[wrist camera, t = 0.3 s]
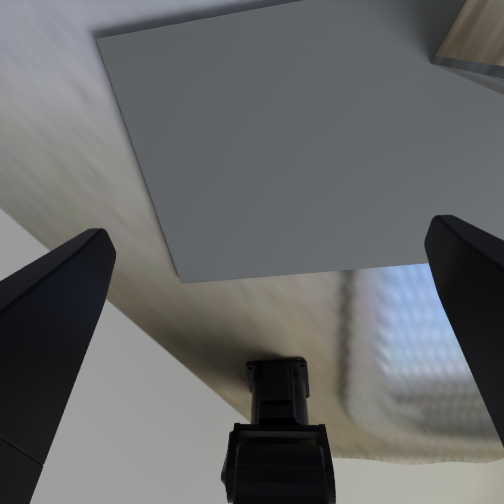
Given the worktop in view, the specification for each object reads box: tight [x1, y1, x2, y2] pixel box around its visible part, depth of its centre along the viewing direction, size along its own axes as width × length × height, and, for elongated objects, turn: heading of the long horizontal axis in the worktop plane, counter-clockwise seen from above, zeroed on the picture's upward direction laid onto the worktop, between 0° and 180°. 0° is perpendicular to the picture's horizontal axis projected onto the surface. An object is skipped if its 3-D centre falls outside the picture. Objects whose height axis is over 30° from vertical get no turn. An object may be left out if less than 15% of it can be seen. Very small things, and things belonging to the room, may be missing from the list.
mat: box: [96, 0, 504, 284], centre depth 22 cm, size 18×27×1 cm, turn 98°
